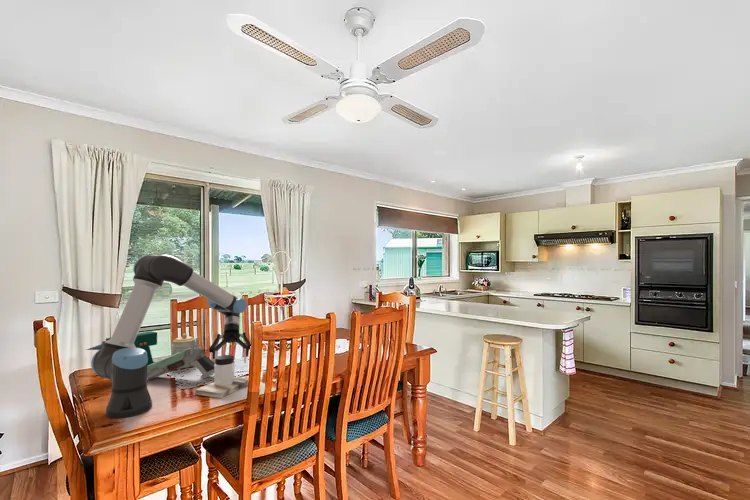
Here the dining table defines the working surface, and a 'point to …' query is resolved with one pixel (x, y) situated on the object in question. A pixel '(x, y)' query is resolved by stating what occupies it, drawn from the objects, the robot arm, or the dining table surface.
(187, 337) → the jar
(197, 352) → the ray gun
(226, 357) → the jar
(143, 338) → the power tool
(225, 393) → the board
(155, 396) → the dining table surface
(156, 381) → the dining table surface
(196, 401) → the dining table surface
